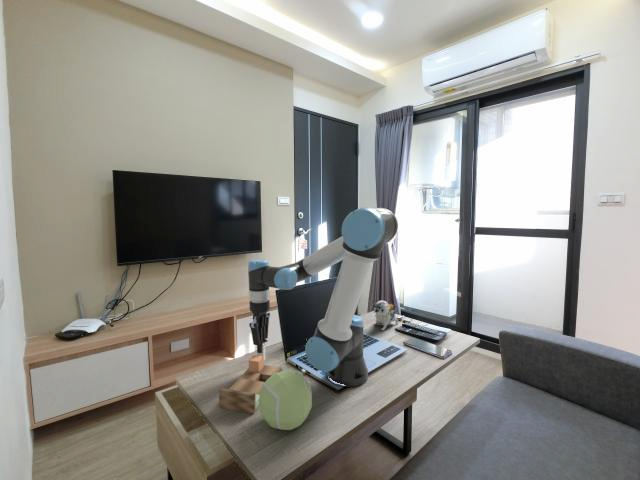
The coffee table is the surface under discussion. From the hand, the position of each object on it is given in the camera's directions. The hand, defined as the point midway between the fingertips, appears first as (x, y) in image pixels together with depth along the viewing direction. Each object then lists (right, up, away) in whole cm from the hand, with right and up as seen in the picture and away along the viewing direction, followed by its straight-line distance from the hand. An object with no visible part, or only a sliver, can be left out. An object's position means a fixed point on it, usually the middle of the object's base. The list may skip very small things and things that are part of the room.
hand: (261, 359), depth 119 cm
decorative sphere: (+13, -8, -29) cm, 33 cm away
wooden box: (0, -6, -12) cm, 14 cm away
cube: (-1, -2, -4) cm, 5 cm away
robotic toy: (+57, 0, +42) cm, 71 cm away
